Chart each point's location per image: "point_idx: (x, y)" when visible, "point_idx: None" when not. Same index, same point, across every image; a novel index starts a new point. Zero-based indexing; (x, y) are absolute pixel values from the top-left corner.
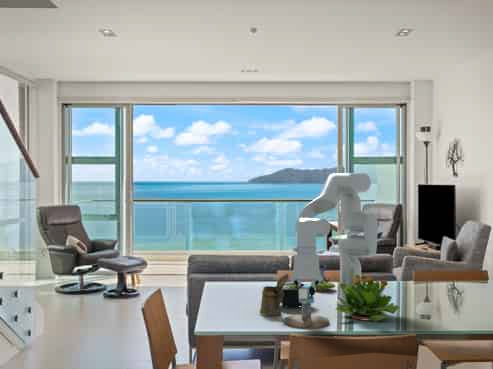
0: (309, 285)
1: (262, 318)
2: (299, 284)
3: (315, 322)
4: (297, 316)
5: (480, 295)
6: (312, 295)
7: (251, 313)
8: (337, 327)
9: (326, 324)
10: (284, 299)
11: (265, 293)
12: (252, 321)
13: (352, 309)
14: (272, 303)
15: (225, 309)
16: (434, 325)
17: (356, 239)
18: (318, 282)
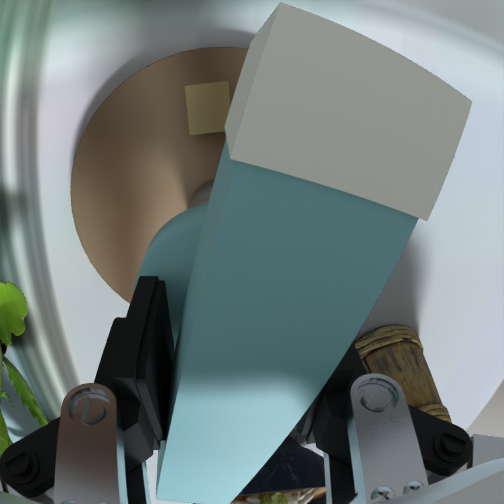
0: (184, 464)
1: (432, 284)
2: (384, 417)
3: (158, 135)
4: None
5: None
6: (140, 288)
7: (438, 350)
8: (34, 107)
9: (88, 128)
10: (307, 453)
11: (446, 413)
12: (481, 228)
13: (9, 372)
14: (401, 376)
15: (478, 373)
16: None
17: None
18: (8, 454)
